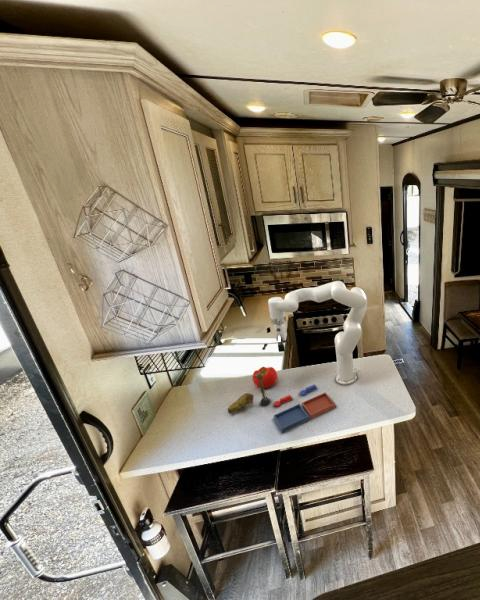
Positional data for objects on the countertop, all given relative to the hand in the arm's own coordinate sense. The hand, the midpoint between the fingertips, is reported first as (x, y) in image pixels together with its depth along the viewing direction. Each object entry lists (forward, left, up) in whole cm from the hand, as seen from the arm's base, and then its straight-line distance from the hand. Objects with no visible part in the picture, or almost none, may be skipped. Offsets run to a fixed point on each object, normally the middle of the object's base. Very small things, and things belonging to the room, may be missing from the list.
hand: (282, 346), depth 184 cm
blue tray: (+9, +26, -29) cm, 39 cm away
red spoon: (+8, +10, -29) cm, 31 cm away
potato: (+27, +1, -29) cm, 39 cm away
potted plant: (+16, +4, -29) cm, 33 cm away
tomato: (+10, -12, -29) cm, 33 cm away
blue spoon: (-7, +10, -29) cm, 31 cm away
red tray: (-7, +26, -29) cm, 39 cm away
